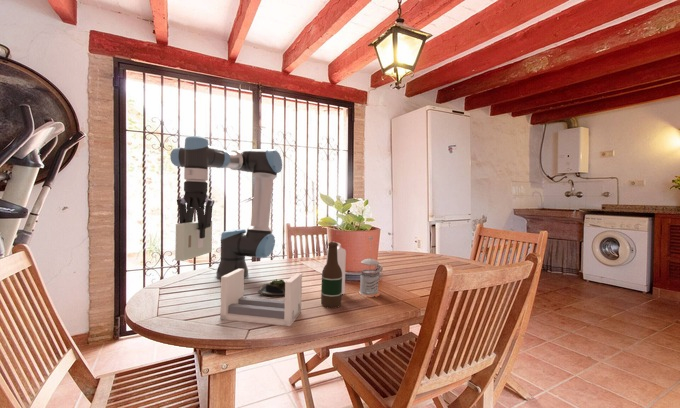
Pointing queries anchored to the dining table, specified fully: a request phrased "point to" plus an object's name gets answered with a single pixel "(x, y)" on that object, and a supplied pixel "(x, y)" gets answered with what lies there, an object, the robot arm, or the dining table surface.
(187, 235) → the door panel
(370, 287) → the french press
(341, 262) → the milk
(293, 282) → the cabinet base
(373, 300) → the dining table surface
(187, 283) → the dining table surface
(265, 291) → the salad plate
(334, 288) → the beer bottle
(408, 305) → the dining table surface
